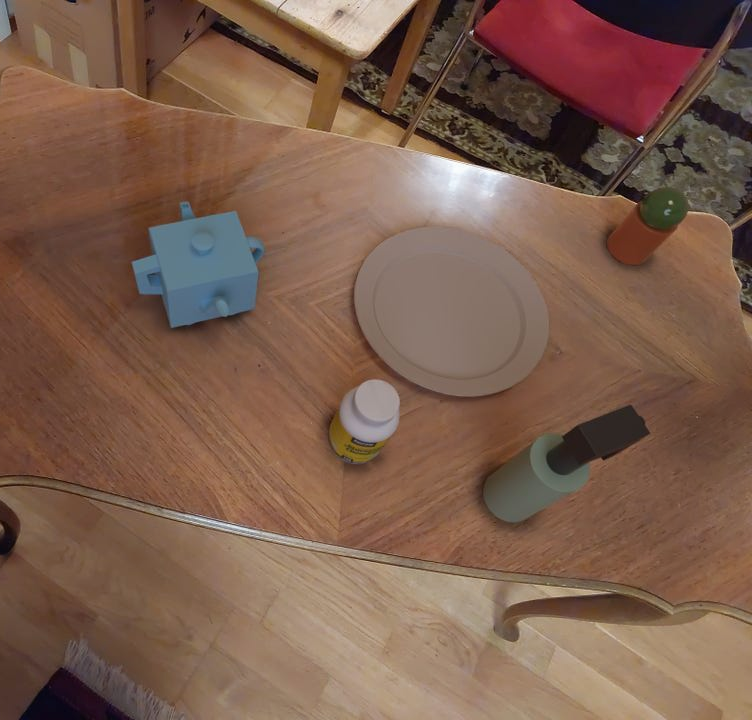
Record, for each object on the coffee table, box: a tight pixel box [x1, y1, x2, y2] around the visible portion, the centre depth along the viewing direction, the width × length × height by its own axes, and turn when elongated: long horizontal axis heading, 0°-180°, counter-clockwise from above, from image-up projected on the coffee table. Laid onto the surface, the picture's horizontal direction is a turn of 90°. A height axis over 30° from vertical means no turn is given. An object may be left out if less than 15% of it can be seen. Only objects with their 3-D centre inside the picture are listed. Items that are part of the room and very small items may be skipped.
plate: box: [353, 226, 550, 397], centre depth 85 cm, size 26×26×2 cm
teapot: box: [131, 200, 266, 329], centre depth 79 cm, size 16×18×11 cm
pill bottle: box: [327, 378, 401, 465], centre depth 72 cm, size 6×6×12 cm
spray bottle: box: [482, 404, 651, 523], centre depth 67 cm, size 8×6×20 cm
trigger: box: [600, 440, 641, 461], centre depth 65 cm, size 1×3×5 cm, turn 21°
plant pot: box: [606, 186, 690, 266], centre depth 89 cm, size 6×6×11 cm
